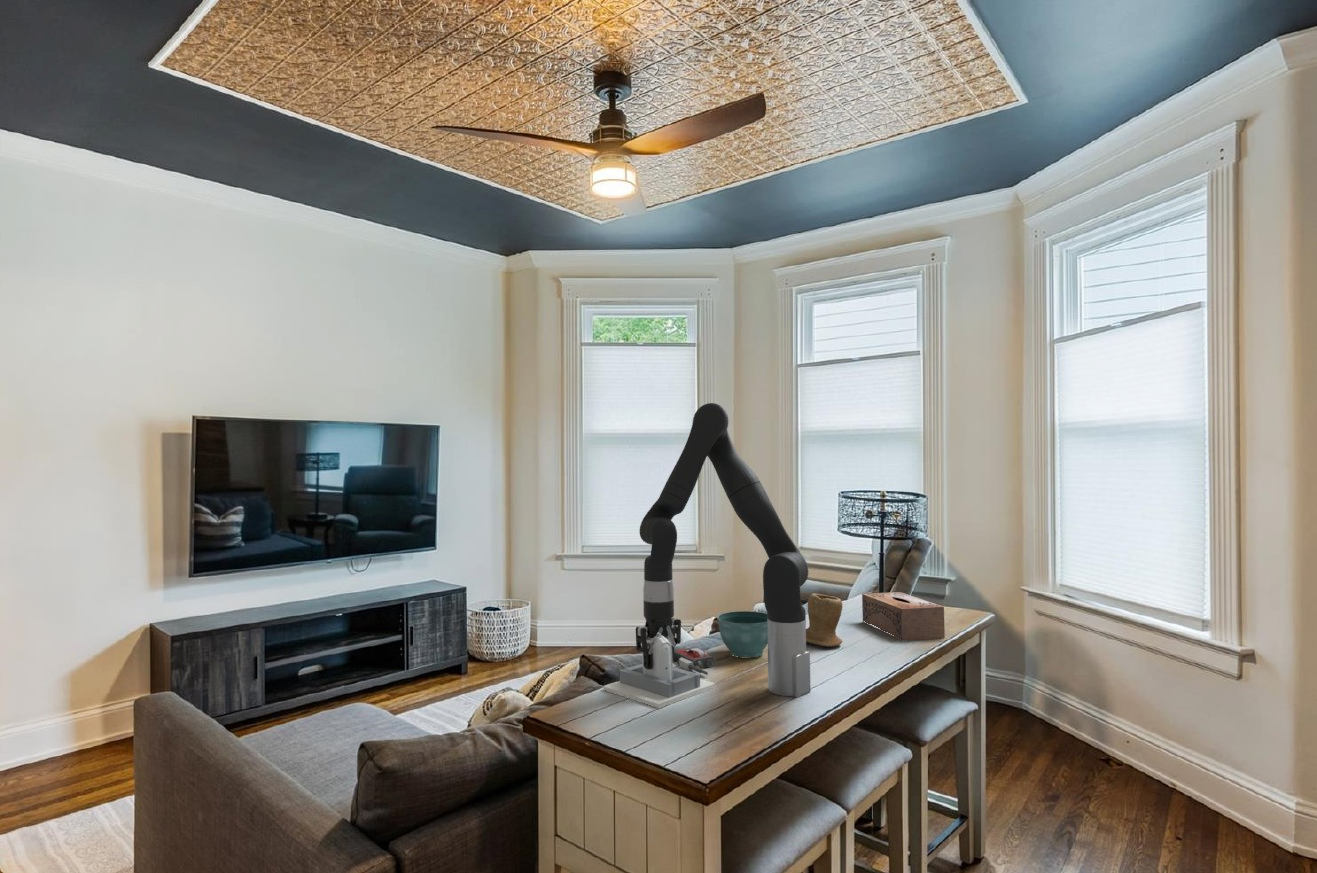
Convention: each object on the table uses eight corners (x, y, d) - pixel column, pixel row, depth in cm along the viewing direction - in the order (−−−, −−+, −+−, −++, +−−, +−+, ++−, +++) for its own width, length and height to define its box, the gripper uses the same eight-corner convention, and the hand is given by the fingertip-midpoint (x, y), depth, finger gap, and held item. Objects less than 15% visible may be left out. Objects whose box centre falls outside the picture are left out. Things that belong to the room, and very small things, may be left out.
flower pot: (748, 666, 190) (747, 625, 191) (706, 654, 202) (705, 616, 203) (785, 654, 201) (785, 616, 201) (743, 644, 213) (743, 608, 213)
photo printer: (676, 687, 168) (673, 636, 168) (660, 691, 166) (658, 640, 166) (655, 674, 177) (653, 626, 177) (640, 678, 175) (638, 630, 175)
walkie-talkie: (663, 661, 197) (703, 679, 180) (663, 645, 197) (703, 662, 180) (690, 656, 201) (731, 674, 184) (689, 641, 201) (730, 657, 184)
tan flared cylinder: (851, 644, 211) (850, 595, 212) (827, 651, 203) (826, 600, 204) (811, 635, 223) (810, 588, 223) (787, 641, 215) (786, 593, 216)
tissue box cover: (944, 638, 218) (943, 606, 218) (902, 641, 215) (901, 608, 215) (900, 620, 243) (900, 592, 244) (862, 623, 240) (862, 593, 241)
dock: (715, 687, 172) (715, 671, 172) (658, 708, 158) (658, 690, 158) (660, 672, 185) (659, 656, 185) (603, 690, 171) (603, 673, 171)
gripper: (648, 604, 165) (649, 675, 164) (689, 595, 175) (690, 662, 174) (627, 600, 170) (627, 669, 169) (667, 592, 180) (668, 656, 179)
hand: (659, 665), depth 172 cm, fingers open, 7 cm apart
